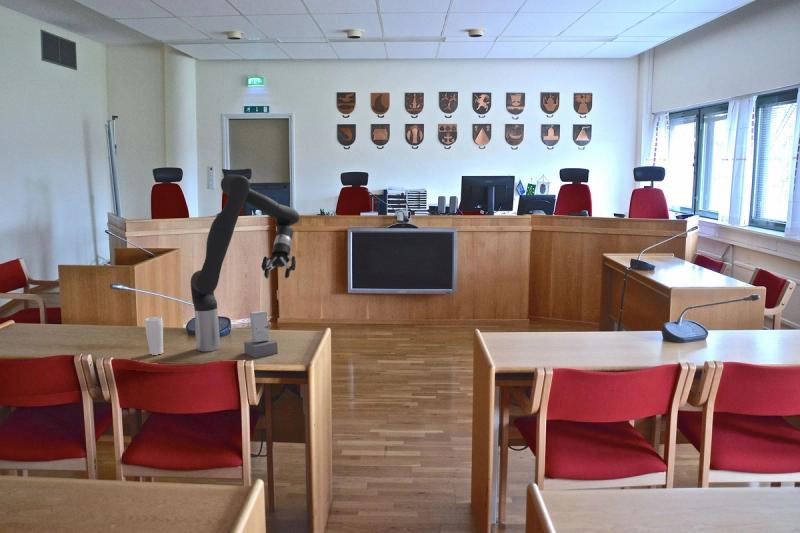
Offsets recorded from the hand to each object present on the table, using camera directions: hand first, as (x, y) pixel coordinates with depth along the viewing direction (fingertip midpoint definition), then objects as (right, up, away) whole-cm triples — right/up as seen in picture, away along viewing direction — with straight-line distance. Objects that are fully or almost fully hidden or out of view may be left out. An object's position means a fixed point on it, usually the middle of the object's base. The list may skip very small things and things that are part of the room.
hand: (276, 277), depth 277 cm
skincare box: (-4, -26, -10) cm, 28 cm away
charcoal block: (-4, -31, -10) cm, 33 cm away
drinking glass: (-48, -32, -7) cm, 58 cm away
